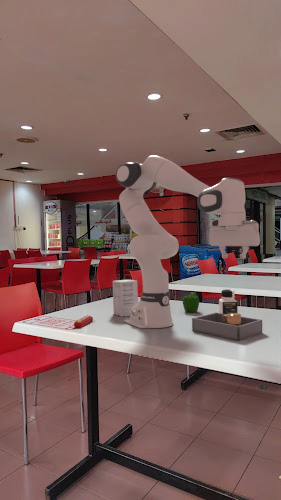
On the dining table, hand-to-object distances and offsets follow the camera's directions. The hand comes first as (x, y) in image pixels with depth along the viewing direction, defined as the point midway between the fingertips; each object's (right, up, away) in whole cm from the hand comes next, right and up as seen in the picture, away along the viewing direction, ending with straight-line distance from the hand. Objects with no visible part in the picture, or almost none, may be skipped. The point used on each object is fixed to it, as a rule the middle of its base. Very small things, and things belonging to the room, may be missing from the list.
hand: (233, 258), depth 138 cm
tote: (-1, -29, +6) cm, 29 cm away
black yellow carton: (+7, -28, +39) cm, 48 cm away
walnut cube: (+1, -28, +9) cm, 29 cm away
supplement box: (-42, -29, +44) cm, 68 cm away
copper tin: (0, -28, +1) cm, 28 cm away
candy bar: (-60, -30, +25) cm, 71 cm away
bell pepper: (-9, -28, +48) cm, 57 cm away
